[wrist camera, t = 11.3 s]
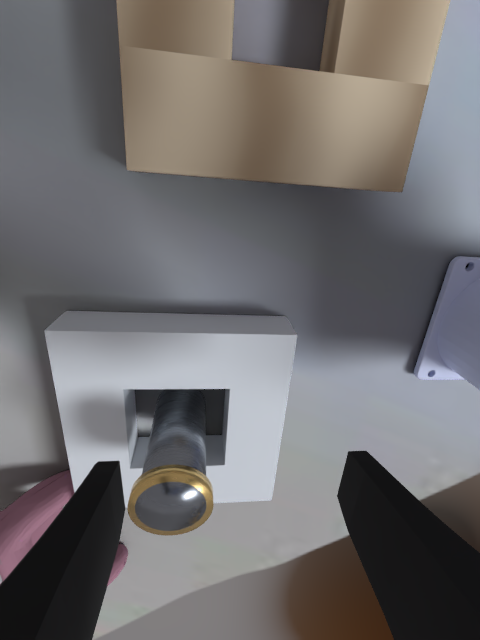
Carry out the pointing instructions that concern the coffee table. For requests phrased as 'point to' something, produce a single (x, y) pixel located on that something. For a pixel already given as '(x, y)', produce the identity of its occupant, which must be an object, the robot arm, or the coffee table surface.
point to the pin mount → (277, 95)
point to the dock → (173, 373)
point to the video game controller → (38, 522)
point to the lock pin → (174, 468)
